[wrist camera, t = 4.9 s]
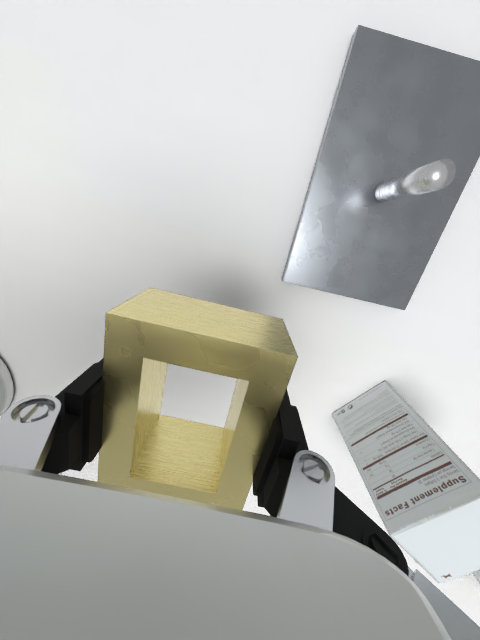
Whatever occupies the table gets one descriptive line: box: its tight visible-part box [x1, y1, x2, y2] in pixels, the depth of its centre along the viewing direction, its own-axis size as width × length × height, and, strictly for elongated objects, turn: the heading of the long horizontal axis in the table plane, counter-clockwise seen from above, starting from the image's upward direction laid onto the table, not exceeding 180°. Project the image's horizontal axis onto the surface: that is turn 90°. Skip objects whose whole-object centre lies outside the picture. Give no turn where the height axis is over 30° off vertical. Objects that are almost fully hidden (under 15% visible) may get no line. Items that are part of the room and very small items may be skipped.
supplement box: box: [332, 381, 480, 583], centre depth 23 cm, size 7×7×13 cm
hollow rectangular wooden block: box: [98, 288, 298, 510], centre depth 10 cm, size 8×6×4 cm
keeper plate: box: [282, 25, 480, 310], centre depth 17 cm, size 18×12×7 cm, turn 167°
